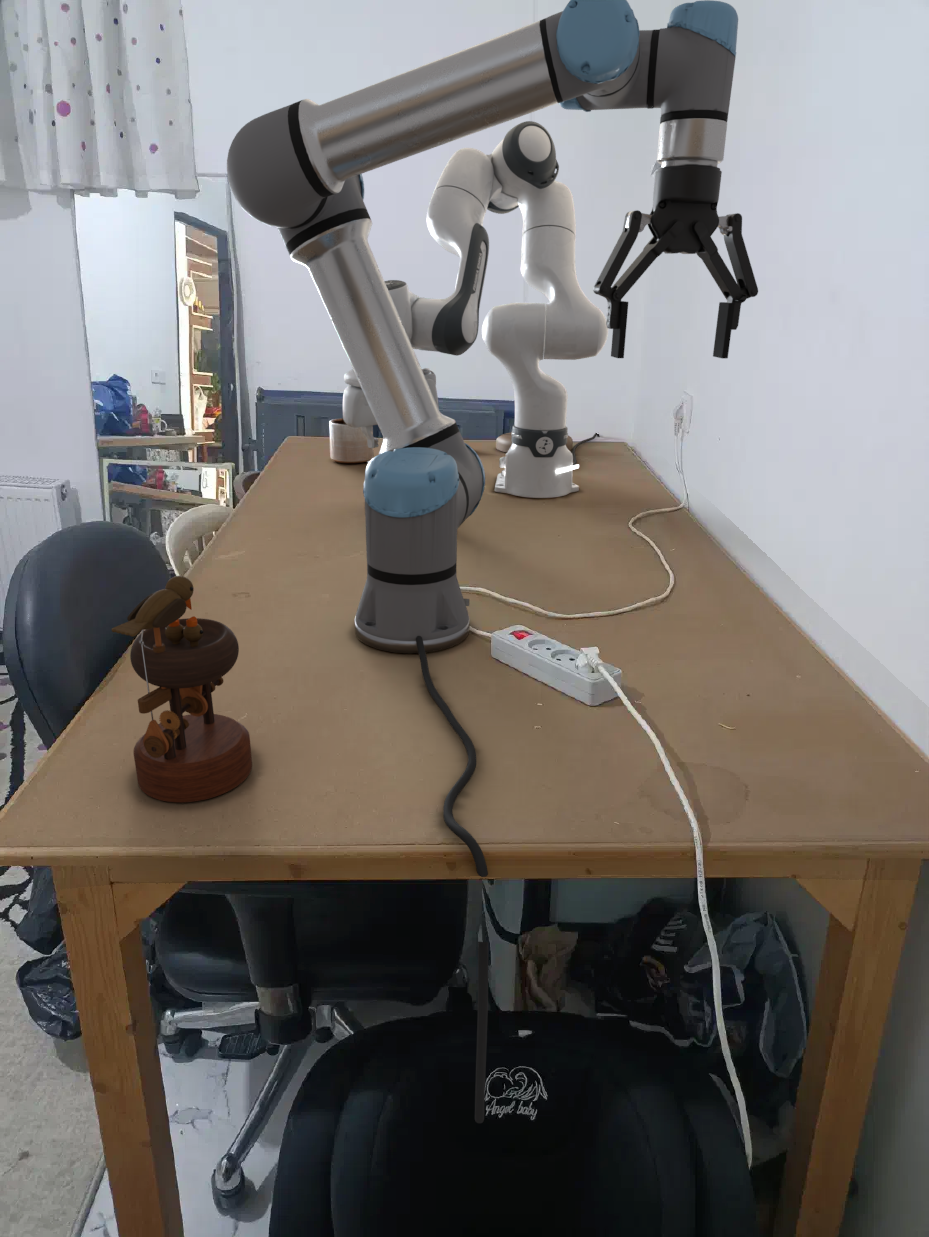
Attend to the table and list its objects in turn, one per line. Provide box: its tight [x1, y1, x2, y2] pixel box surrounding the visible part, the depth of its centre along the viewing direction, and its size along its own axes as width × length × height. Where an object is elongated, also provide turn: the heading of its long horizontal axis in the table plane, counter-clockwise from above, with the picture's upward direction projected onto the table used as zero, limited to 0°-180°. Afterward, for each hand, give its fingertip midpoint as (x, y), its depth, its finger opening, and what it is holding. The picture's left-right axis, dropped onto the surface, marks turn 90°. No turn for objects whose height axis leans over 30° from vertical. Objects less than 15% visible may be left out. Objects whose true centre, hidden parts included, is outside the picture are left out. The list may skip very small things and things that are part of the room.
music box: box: [111, 575, 253, 803], centre depth 78 cm, size 15×11×20 cm
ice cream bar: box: [495, 431, 574, 453], centre depth 224 cm, size 21×28×4 cm
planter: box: [328, 417, 375, 464], centre depth 212 cm, size 11×11×10 cm
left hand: (669, 357), depth 106 cm, fingers open, 13 cm apart
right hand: (393, 444), depth 168 cm, fingers open, 8 cm apart
